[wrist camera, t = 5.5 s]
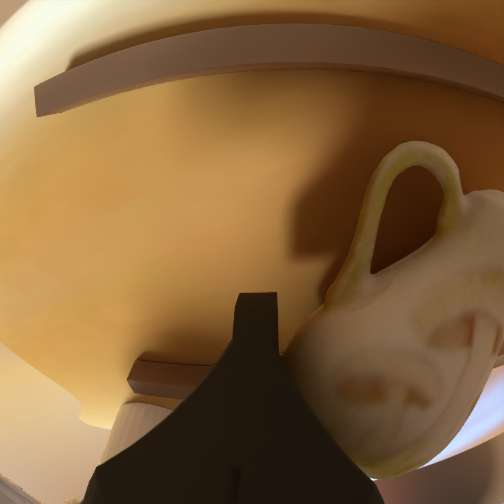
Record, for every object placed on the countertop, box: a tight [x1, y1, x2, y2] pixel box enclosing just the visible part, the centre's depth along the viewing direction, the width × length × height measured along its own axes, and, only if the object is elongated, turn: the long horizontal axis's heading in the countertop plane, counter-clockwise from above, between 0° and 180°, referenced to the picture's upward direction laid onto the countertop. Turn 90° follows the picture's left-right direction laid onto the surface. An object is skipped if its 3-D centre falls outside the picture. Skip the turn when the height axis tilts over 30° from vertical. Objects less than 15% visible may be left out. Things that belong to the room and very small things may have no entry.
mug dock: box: [34, 23, 504, 399], centre depth 10 cm, size 15×29×2 cm, turn 94°
